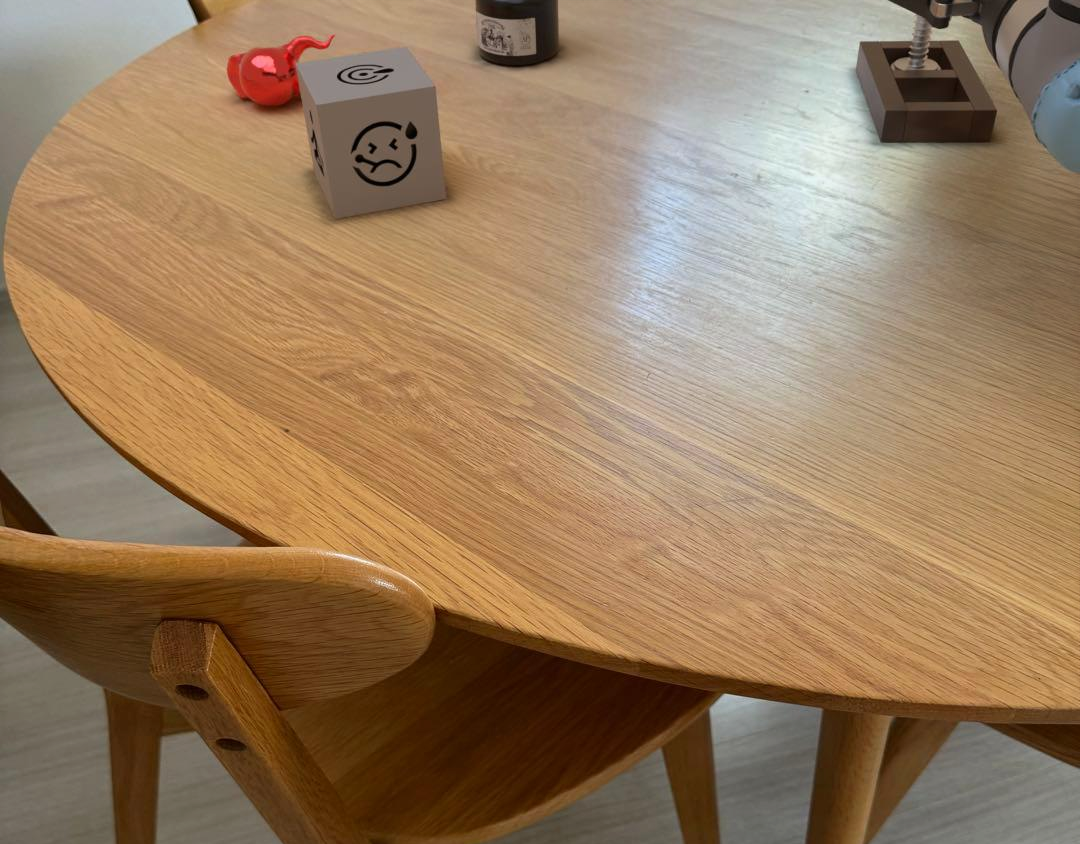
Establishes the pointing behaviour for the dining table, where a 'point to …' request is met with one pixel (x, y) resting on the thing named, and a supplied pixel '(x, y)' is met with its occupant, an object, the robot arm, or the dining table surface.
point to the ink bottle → (517, 30)
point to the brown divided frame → (925, 94)
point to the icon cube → (372, 131)
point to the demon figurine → (270, 71)
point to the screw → (918, 49)
